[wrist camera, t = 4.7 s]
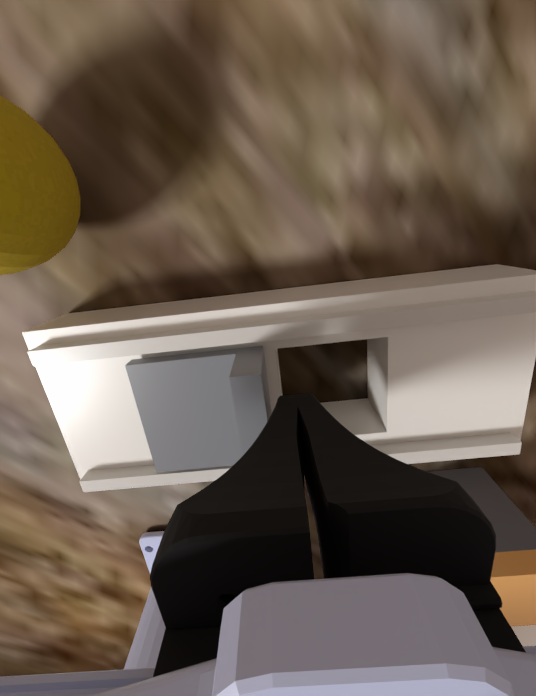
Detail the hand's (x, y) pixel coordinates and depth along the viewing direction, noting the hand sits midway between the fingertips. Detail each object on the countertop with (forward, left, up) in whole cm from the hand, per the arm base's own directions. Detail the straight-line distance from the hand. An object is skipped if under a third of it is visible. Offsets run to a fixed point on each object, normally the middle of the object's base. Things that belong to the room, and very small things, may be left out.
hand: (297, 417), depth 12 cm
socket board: (0, 0, -5) cm, 5 cm away
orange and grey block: (-9, -9, -5) cm, 13 cm away
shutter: (0, +4, -1) cm, 4 cm away
